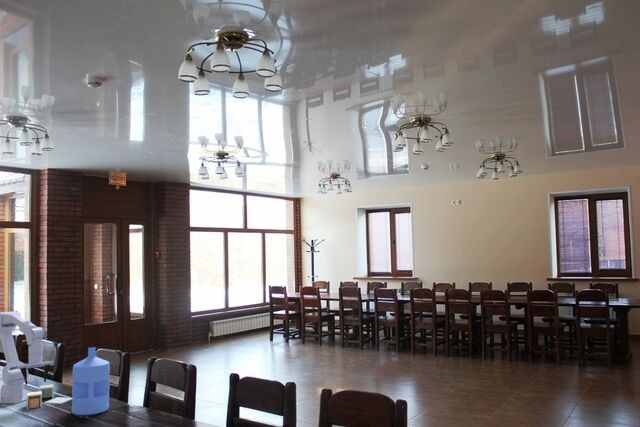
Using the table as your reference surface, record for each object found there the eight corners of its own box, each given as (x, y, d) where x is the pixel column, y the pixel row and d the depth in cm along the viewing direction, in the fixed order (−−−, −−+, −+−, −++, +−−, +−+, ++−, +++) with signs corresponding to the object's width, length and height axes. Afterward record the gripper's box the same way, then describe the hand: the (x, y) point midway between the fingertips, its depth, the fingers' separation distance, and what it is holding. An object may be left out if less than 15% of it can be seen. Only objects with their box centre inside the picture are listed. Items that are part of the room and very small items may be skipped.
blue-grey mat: (44, 403, 251) (44, 402, 251) (57, 398, 260) (57, 397, 260) (60, 404, 250) (61, 403, 250) (73, 399, 258) (73, 398, 258)
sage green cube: (39, 398, 261) (39, 385, 261) (52, 396, 264) (53, 384, 264) (39, 401, 256) (39, 388, 256) (53, 399, 258) (53, 386, 259)
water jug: (72, 408, 242) (73, 346, 244) (108, 404, 248) (109, 344, 251) (70, 417, 228) (72, 352, 230) (109, 413, 234) (110, 349, 236)
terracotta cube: (29, 406, 247) (29, 397, 247) (38, 405, 249) (39, 396, 249) (29, 408, 243) (29, 399, 244) (39, 407, 245) (39, 398, 246)
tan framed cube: (26, 405, 247) (27, 392, 248) (41, 404, 250) (41, 391, 251) (26, 409, 242) (27, 395, 243) (41, 407, 245) (41, 393, 245)
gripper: (17, 356, 242) (18, 387, 240) (53, 352, 249) (53, 381, 247) (17, 355, 248) (17, 384, 246) (52, 351, 255) (52, 379, 253)
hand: (35, 383), depth 247 cm, fingers open, 7 cm apart
